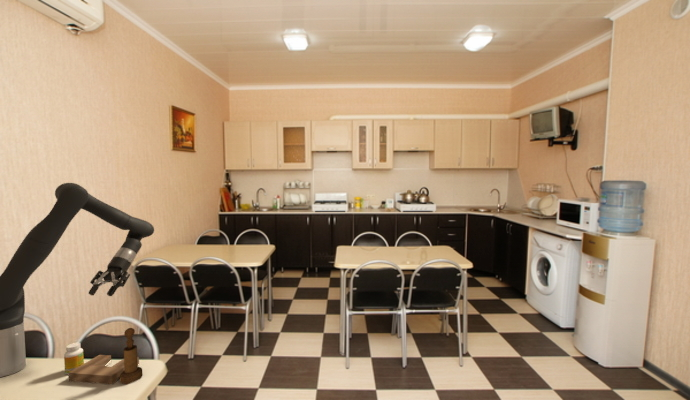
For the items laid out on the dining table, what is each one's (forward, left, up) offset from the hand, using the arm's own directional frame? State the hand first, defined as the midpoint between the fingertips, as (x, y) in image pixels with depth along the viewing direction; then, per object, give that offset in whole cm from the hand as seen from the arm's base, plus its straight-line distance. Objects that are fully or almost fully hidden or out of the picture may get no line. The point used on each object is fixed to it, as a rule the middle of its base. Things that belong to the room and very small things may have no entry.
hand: (99, 295), depth 127 cm
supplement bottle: (0, -11, -25) cm, 27 cm away
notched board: (+13, -11, -25) cm, 30 cm away
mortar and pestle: (+25, -13, -25) cm, 38 cm away
